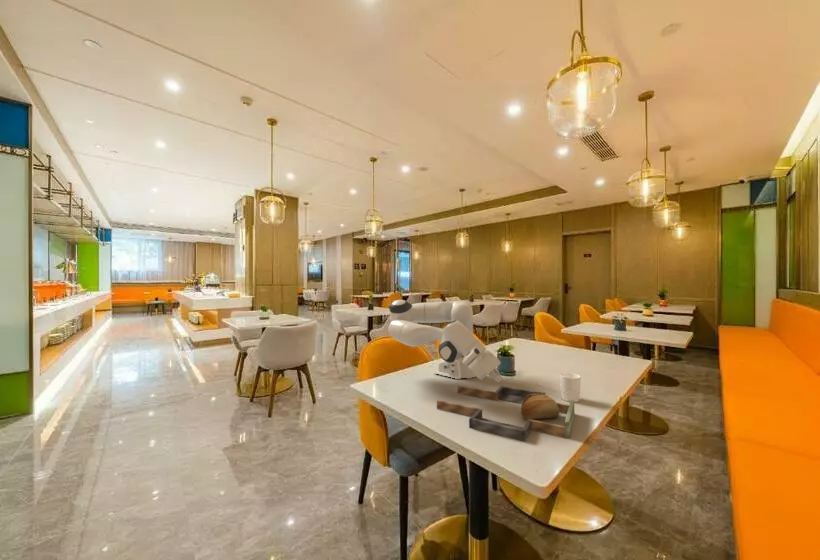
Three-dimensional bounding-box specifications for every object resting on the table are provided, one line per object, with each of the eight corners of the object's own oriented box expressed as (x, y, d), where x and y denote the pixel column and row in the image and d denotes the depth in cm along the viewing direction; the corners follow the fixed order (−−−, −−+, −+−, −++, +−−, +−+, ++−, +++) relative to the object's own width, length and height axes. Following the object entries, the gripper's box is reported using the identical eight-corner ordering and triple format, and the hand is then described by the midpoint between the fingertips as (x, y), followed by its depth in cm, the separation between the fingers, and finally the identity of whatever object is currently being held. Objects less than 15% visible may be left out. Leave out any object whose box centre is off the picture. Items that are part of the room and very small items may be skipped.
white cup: (576, 396, 136) (575, 372, 136) (584, 403, 129) (584, 378, 129) (557, 395, 137) (556, 372, 137) (564, 402, 129) (563, 378, 129)
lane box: (425, 417, 117) (425, 403, 117) (465, 386, 150) (465, 375, 150) (566, 451, 93) (566, 434, 93) (576, 405, 126) (576, 393, 126)
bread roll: (514, 414, 119) (513, 393, 119) (547, 409, 123) (547, 388, 123) (530, 425, 110) (530, 402, 110) (566, 419, 114) (565, 397, 114)
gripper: (478, 352, 137) (501, 378, 132) (461, 363, 120) (487, 393, 115) (488, 343, 135) (512, 369, 130) (472, 352, 117) (499, 383, 112)
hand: (500, 380), depth 122 cm, fingers closed
